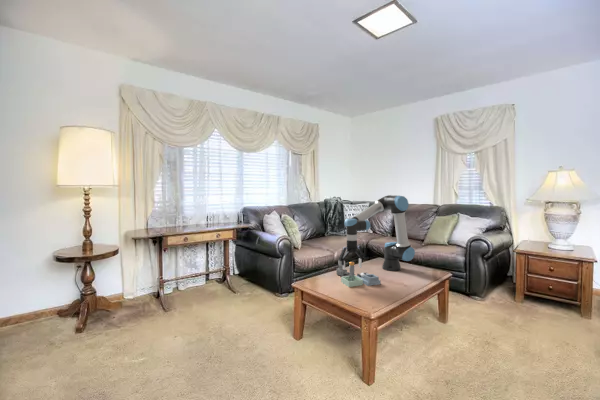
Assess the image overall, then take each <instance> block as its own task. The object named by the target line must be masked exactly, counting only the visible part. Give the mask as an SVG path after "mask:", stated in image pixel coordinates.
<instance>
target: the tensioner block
mask: <svg viewBox="0 0 600 400" xmlns="http://www.w3.org/2000/svg"><path fill="white" fill-rule="evenodd" d="M356 276H357V277H359V278H360V279H362V280H363V285H365V286H367V287H369V286H378V285H381V280H380V277H379V276H378V275H376V274H374V273H369V272H360V273H356Z"/></svg>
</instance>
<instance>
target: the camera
mask: <svg viewBox="0 0 600 400" xmlns="http://www.w3.org/2000/svg"><path fill="white" fill-rule="evenodd" d="M337 262H338V267H336V275H338V276H340V277H345V276H350V271H349V272H348V269H346V268H345V270H343V265H342V263H341V260H339V259H338V261H337ZM354 275H355V276H356V274H355V273H354Z"/></svg>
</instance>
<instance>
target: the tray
mask: <svg viewBox="0 0 600 400" xmlns="http://www.w3.org/2000/svg"><path fill="white" fill-rule="evenodd" d="M340 278H341V279H340V280H341V281H340V282H341V283H342V284H343V285H345V286H347V287H348V288H350V287H351V288H352V287H358V286H363V285H364V284H363V280H362V279H360V278H359V277H357V275H356V274H355V275H354V281H350V276H345V277H342V276H340Z"/></svg>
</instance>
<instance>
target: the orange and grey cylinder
mask: <svg viewBox="0 0 600 400" xmlns="http://www.w3.org/2000/svg"><path fill="white" fill-rule="evenodd" d="M349 273H350V281H354V274H355V262H354V261H350V262H349Z"/></svg>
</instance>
